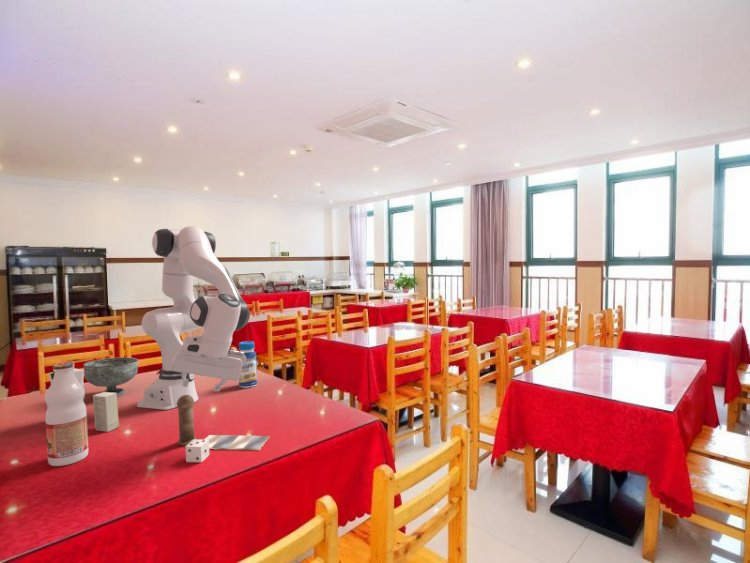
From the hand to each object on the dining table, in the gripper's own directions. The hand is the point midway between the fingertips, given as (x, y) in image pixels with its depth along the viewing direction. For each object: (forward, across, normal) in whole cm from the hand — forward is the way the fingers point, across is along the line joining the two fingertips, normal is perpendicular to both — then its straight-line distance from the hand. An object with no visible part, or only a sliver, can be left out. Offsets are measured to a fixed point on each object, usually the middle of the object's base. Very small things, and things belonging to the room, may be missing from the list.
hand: (200, 388), depth 124 cm
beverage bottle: (+21, -26, -52) cm, 62 cm away
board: (+13, -13, +7) cm, 20 cm away
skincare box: (+31, +22, -23) cm, 44 cm away
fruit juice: (+29, +28, -2) cm, 41 cm away
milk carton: (+38, +36, -38) cm, 64 cm away
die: (+15, -4, +13) cm, 20 cm away
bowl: (+40, +26, -65) cm, 81 cm away
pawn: (+18, -1, 0) cm, 18 cm away
